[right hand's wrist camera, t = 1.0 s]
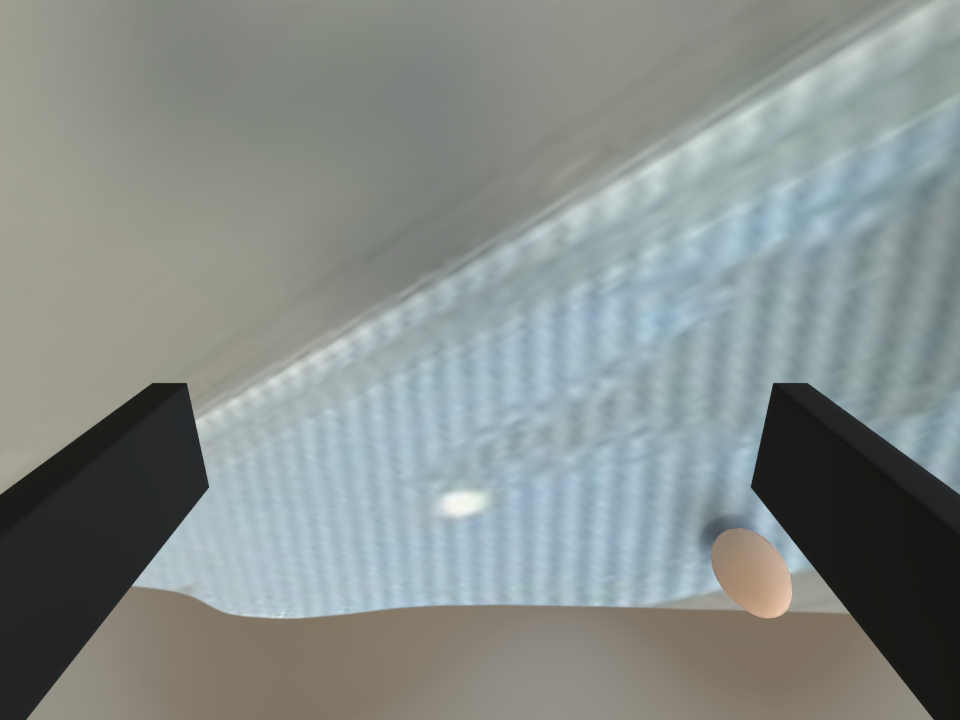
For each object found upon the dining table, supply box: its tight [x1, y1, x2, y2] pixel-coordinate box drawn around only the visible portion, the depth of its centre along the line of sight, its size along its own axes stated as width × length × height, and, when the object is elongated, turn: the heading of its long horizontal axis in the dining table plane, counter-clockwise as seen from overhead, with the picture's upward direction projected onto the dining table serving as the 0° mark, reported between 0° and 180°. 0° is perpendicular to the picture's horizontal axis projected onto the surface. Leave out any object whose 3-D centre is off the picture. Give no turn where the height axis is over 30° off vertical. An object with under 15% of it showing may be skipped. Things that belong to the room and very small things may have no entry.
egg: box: [711, 528, 792, 618], centre depth 44 cm, size 5×5×8 cm
